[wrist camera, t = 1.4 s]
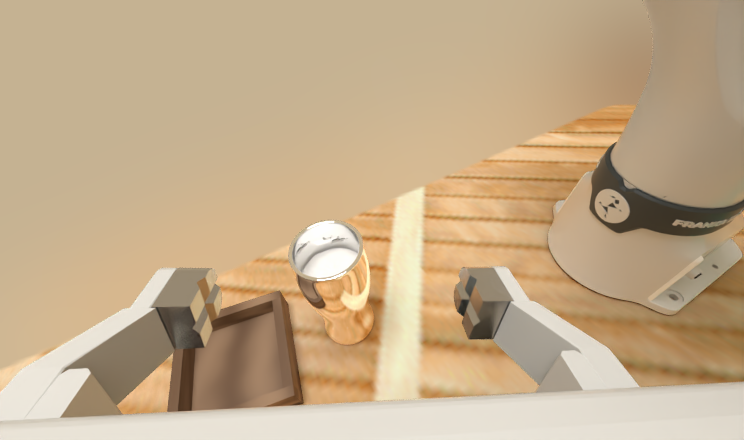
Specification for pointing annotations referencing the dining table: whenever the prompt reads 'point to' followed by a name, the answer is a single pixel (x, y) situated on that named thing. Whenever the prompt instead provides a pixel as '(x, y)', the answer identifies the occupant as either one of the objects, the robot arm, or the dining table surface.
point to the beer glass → (334, 278)
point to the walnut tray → (240, 361)
